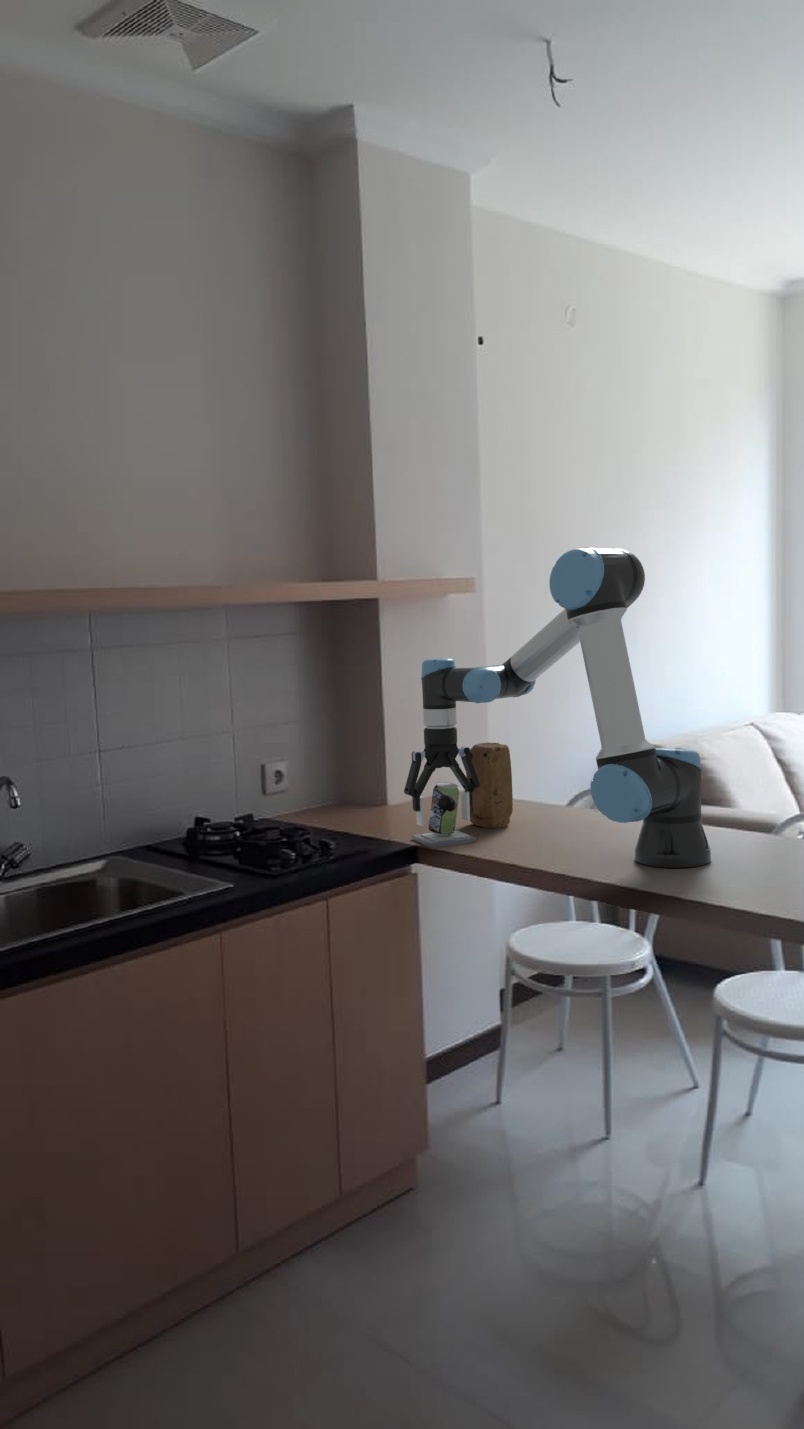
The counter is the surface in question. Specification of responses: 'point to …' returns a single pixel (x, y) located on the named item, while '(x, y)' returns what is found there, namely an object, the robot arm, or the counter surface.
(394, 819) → the counter surface
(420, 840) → the plate
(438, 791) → the beverage can
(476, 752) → the block
